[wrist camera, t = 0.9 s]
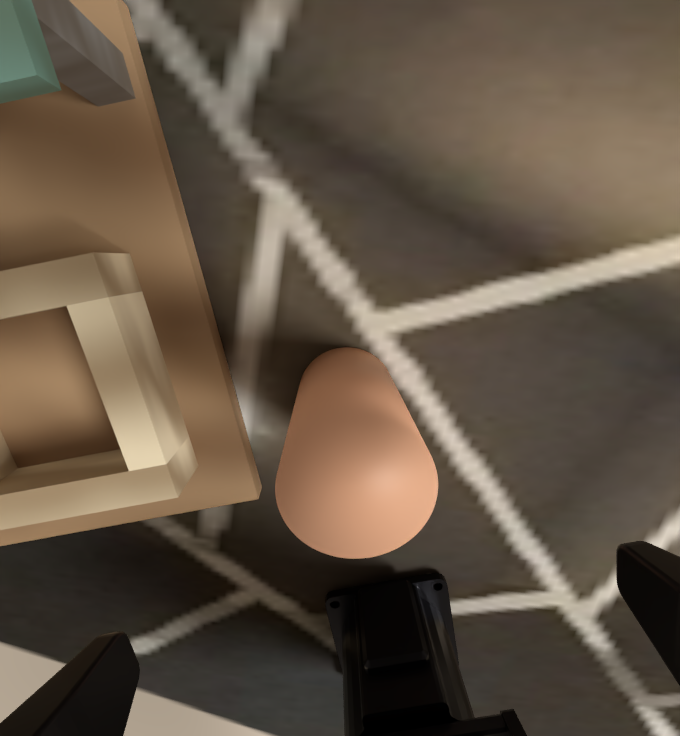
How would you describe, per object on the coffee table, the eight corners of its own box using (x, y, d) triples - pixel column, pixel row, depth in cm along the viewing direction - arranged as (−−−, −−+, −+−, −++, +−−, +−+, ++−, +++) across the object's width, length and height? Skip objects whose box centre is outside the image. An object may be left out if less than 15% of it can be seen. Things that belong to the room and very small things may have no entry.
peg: (399, 427, 19) (447, 543, 11) (309, 444, 19) (294, 570, 11) (385, 338, 18) (426, 400, 10) (289, 357, 18) (257, 432, 10)
